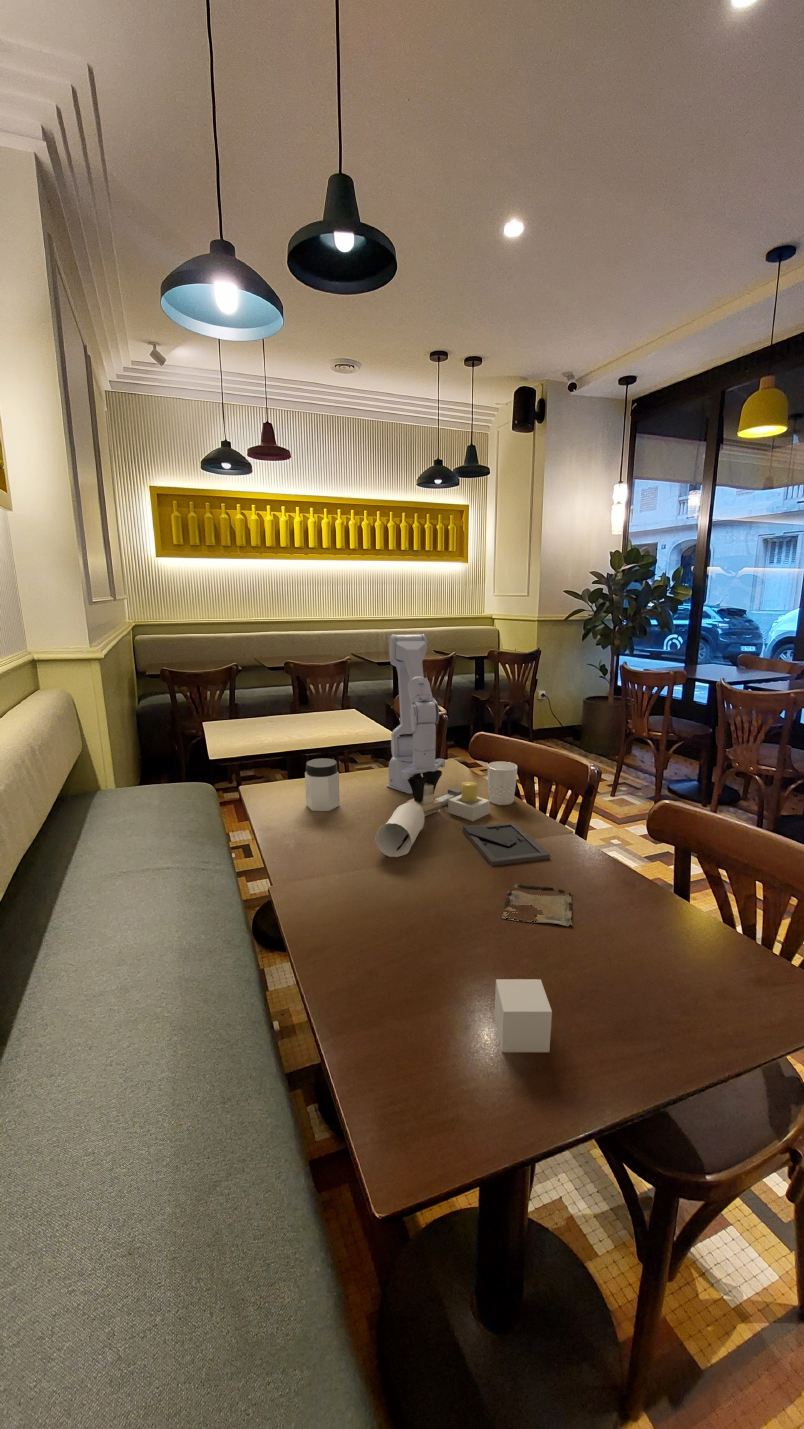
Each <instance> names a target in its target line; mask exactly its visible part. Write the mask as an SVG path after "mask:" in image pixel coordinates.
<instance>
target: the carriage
mask: <svg viewBox="0 0 804 1429" xmlns="http://www.w3.org/2000/svg"><path fill="white" fill-rule="evenodd" d="M435 799H436V798H434V795H433V785H431V784H428V783H425V785H424V790H423V800H422V802H417V801H415V800H414V798H412V799H409V800H406V803H408V802H413V801H415V802H416V803H418V804H420V805H421V807H422V808H423V812H424V815H425V817H427V816H430V815H432V814H434V813H437V812H438V811H440V808H441V807H440V805H441V801H438V800H435Z"/></svg>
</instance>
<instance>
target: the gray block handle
mask: <svg viewBox="0 0 804 1429" xmlns="http://www.w3.org/2000/svg"><path fill="white" fill-rule="evenodd" d="M461 792H462V790H458V789H456V788H452V787H451V788H448V789H447V794H444V795H441V796H439V797H437V798H434V799H435V800H438V801H441V805H440V808H443V807H444V806H447V805H448V800H449V799H451V798H454V797H456V796H459V795H461Z"/></svg>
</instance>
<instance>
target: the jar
mask: <svg viewBox="0 0 804 1429" xmlns="http://www.w3.org/2000/svg"><path fill="white" fill-rule="evenodd" d="M304 784H305V786H304V787H305V806H307V808H308V809H310V810H311V811H312V812H330V811H332V810H334V809H336V808H339V806H341V804H340V803H341V802H340V801H341V800H340V772H339V771H338V762H337V760H335V759H333V758H327V757H325V758H322V757H321V758H314V759H311V760H307V761H306V762H305V772H304Z"/></svg>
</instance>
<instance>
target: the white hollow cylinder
mask: <svg viewBox="0 0 804 1429" xmlns="http://www.w3.org/2000/svg"><path fill="white" fill-rule="evenodd" d="M425 817H426V816H425V815H424V812H423V808H422V807H421V805H420V804H418V803H416V802H415V801H413V802H408V803H407V802H405V803H403V804H400V805H398V807H397V808H396V809H394V811H393V813H392V815H390V818H389V819H388V820H387V822H386V823H384V824H383V825H381V826H379V827H378V830H377V831H376V833H375V837H374V840H375V843H376V846H377V848H378V850H380V852H381V853H382V854H384V855H385V856H388V857H390V858H392V857H396V858H399V857H401V856H405V855H407V854H408V853H409V852H410V851H411V847H412V846H413V845H414V843H415V841H416V838H417V837H418V835H419V833H420V832H421V831H422V829H423V828H424V825H425ZM406 836H407V838H406ZM405 838H406V840H405V841H403V840H404V839H405ZM400 846H401V847H400ZM399 847H400V848H399ZM398 848H399V849H398Z"/></svg>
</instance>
